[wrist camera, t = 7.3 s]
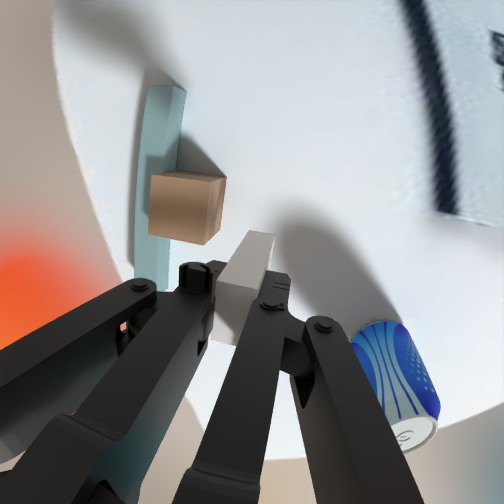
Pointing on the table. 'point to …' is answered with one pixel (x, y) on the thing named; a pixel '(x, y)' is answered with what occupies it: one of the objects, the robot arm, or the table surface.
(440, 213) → the table surface
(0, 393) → the robot arm
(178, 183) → the block
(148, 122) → the board
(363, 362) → the beer can
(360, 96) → the table surface
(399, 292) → the table surface
